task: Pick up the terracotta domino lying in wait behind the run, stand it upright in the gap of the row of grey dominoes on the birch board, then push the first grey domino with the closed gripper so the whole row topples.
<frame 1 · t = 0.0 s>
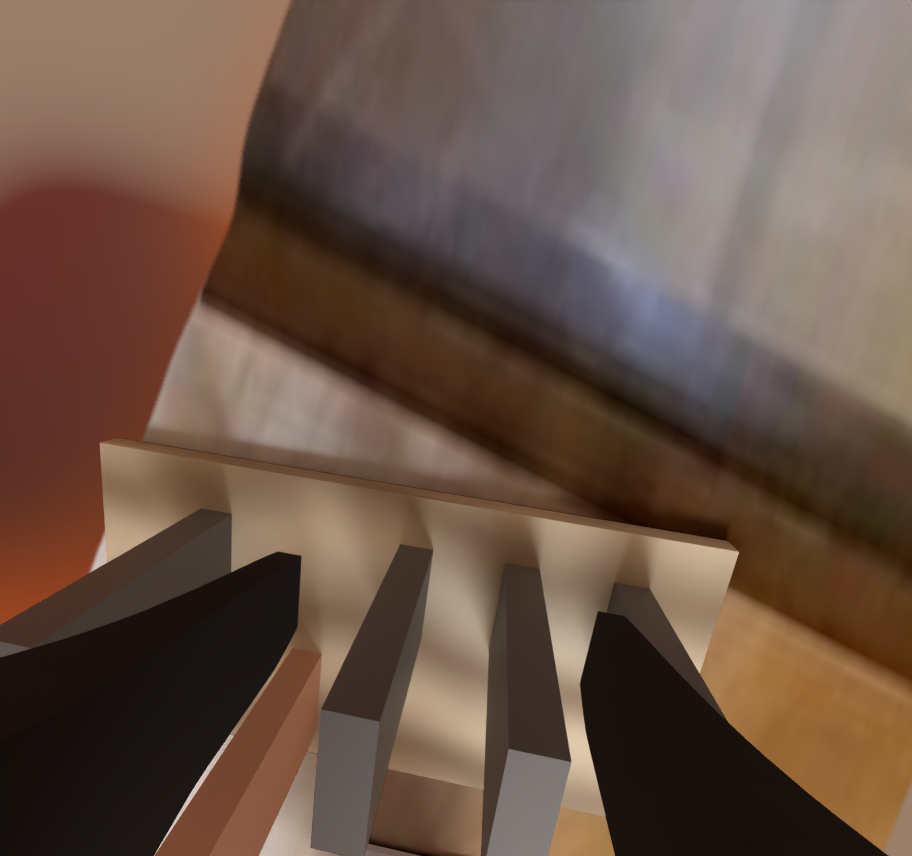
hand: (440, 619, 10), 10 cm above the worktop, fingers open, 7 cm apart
birch board: (390, 628, 22), on the worktop
domino 3: (410, 593, 20), point 1 cm above the worktop, touching birch board
domino 2: (513, 612, 20), point 1 cm above the worktop, touching birch board
domino 1: (619, 632, 20), point 1 cm above the worktop, touching birch board
end domino: (216, 556, 21), point 1 cm above the worktop, touching birch board
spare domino: (304, 690, 22), point 1 cm above the worktop, touching birch board
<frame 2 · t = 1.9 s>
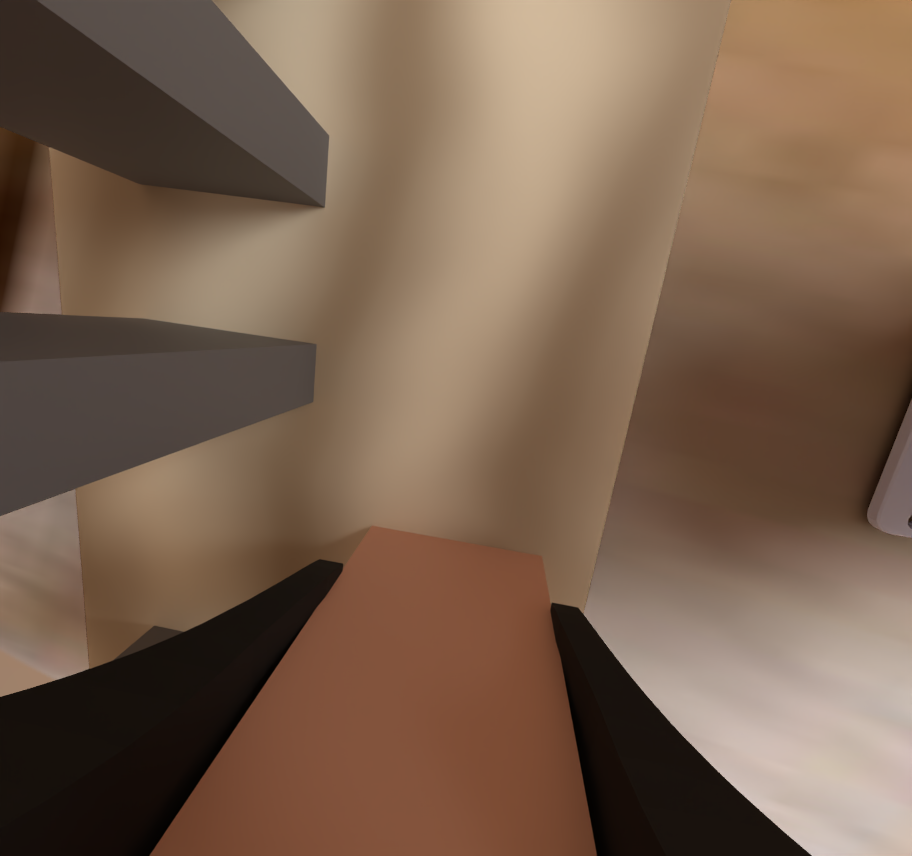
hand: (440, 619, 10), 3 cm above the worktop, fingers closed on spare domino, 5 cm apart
birch board: (343, 405, 13), on the worktop
domino 3: (228, 360, 12), point 1 cm above the worktop, touching birch board
domino 2: (231, 160, 11), point 1 cm above the worktop, touching birch board
end domino: (224, 660, 14), point 1 cm above the worktop, touching birch board
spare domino: (451, 565, 12), point 1 cm above the worktop, touching birch board, gripper
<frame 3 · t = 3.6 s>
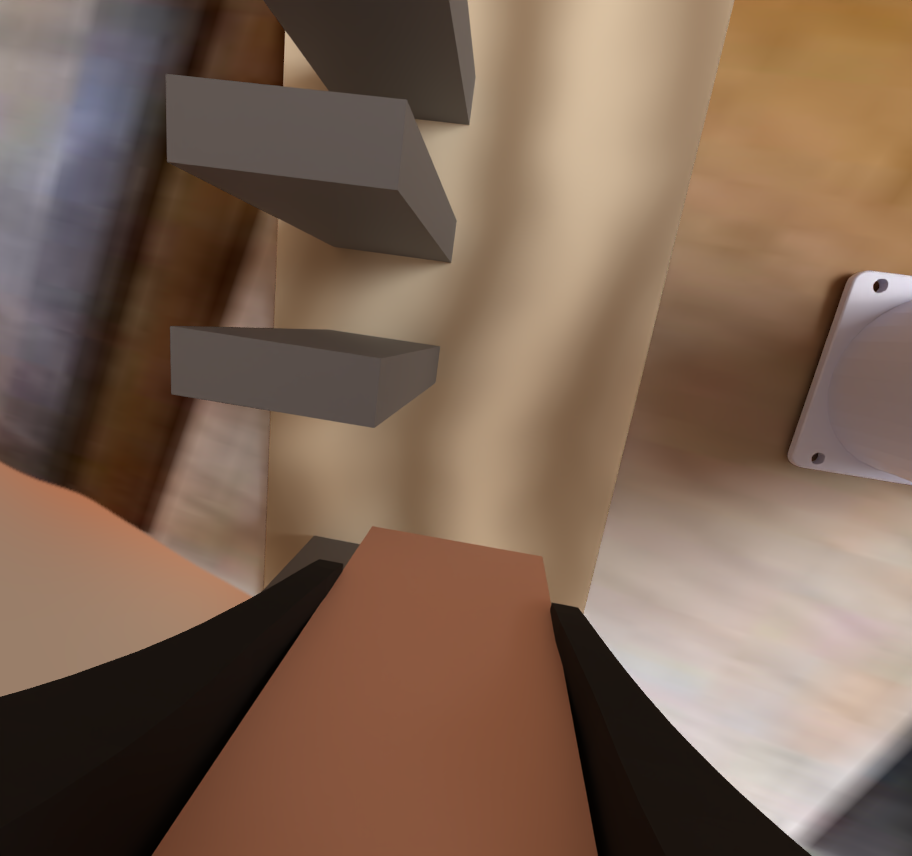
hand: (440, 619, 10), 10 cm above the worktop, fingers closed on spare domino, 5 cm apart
birch board: (448, 386, 19), on the worktop
domino 3: (381, 356, 18), point 1 cm above the worktop, touching birch board
domino 2: (394, 234, 17), point 1 cm above the worktop, touching birch board
domino 1: (407, 94, 16), point 1 cm above the worktop, touching birch board
end domino: (361, 559, 21), point 1 cm above the worktop, touching birch board
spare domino: (452, 565, 12), point 8 cm above the worktop, touching gripper
when the fingers open (5 cm above the worktop, at t = 5.6 s): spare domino drops 1 cm, resting on birch board.
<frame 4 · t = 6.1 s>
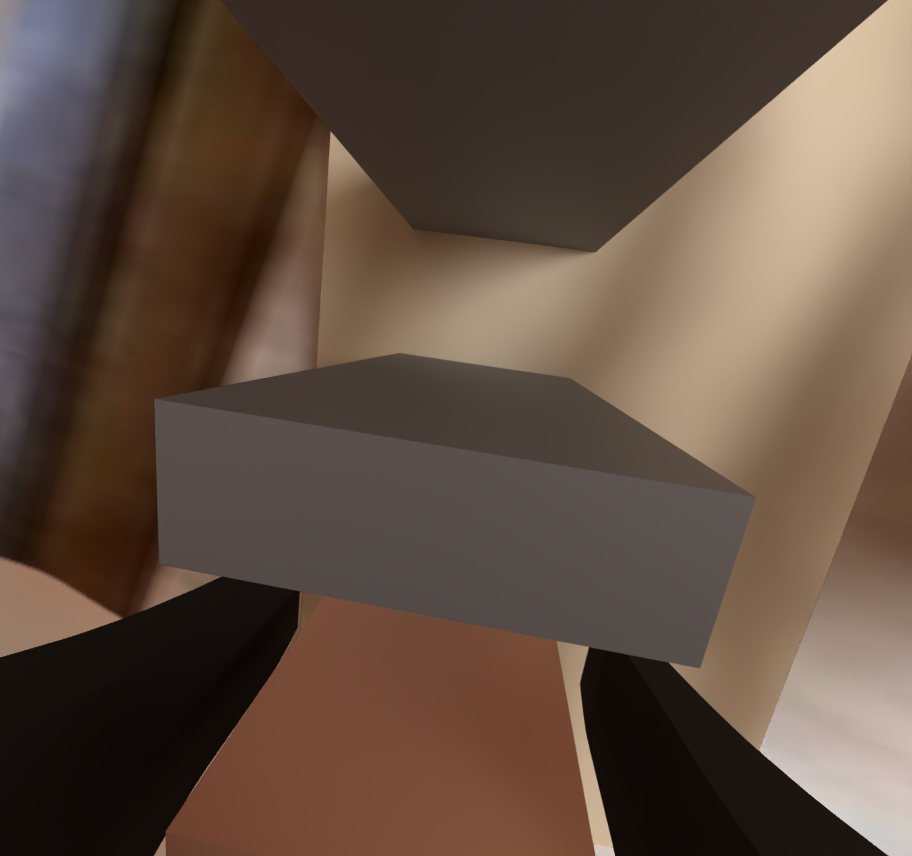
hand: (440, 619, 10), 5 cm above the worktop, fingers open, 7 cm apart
birch board: (569, 433, 13), on the worktop
domino 3: (479, 392, 12), point 1 cm above the worktop, touching birch board
domino 2: (507, 208, 11), point 1 cm above the worktop, touching birch board
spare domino: (455, 545, 14), point 1 cm above the worktop, touching birch board
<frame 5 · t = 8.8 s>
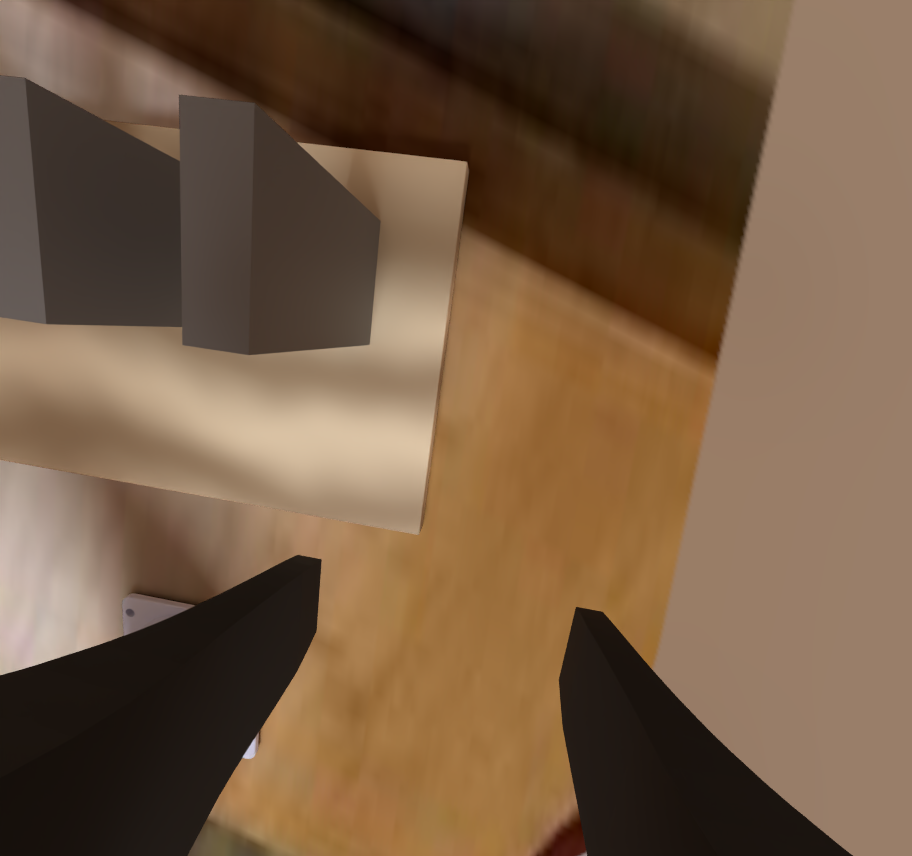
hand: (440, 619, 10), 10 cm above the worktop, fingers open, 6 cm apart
birch board: (136, 319, 20), on the worktop
domino 2: (244, 267, 18), point 1 cm above the worktop, touching birch board
domino 1: (356, 282, 18), point 1 cm above the worktop, touching birch board
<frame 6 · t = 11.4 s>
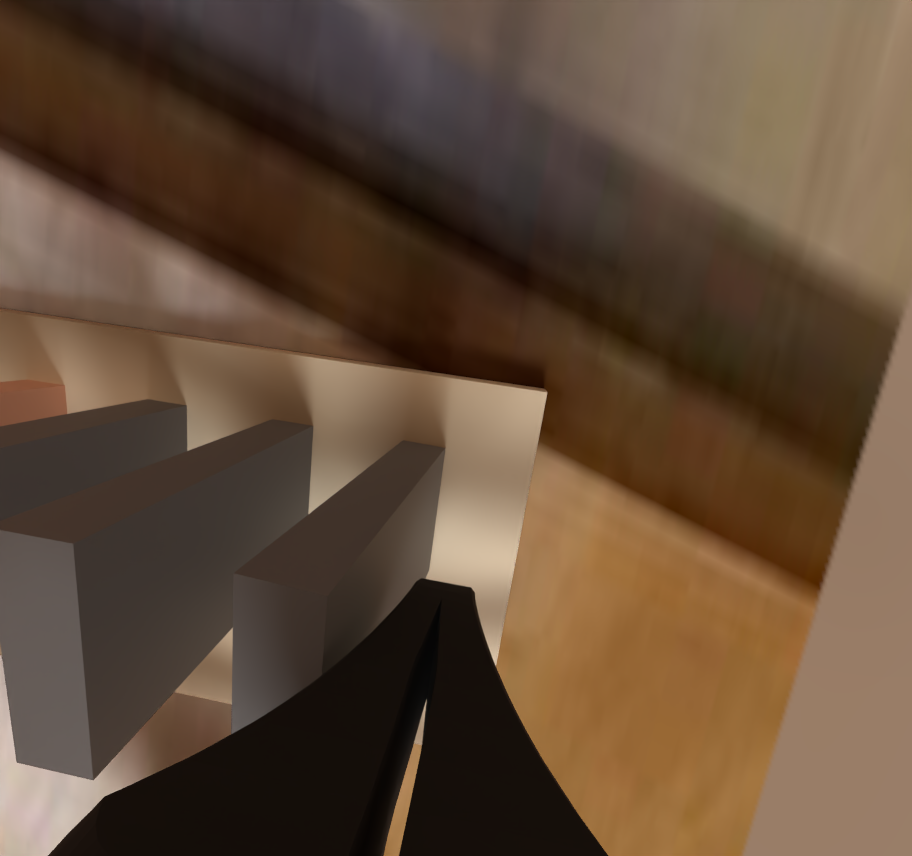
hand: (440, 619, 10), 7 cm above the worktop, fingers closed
birch board: (166, 518, 18), on the worktop
domino 3: (168, 464, 17), point 1 cm above the worktop, touching birch board
domino 2: (289, 485, 16), point 1 cm above the worktop, touching birch board
domino 1: (416, 507, 16), point 1 cm above the worktop, touching birch board
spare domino: (51, 443, 17), point 1 cm above the worktop, touching birch board
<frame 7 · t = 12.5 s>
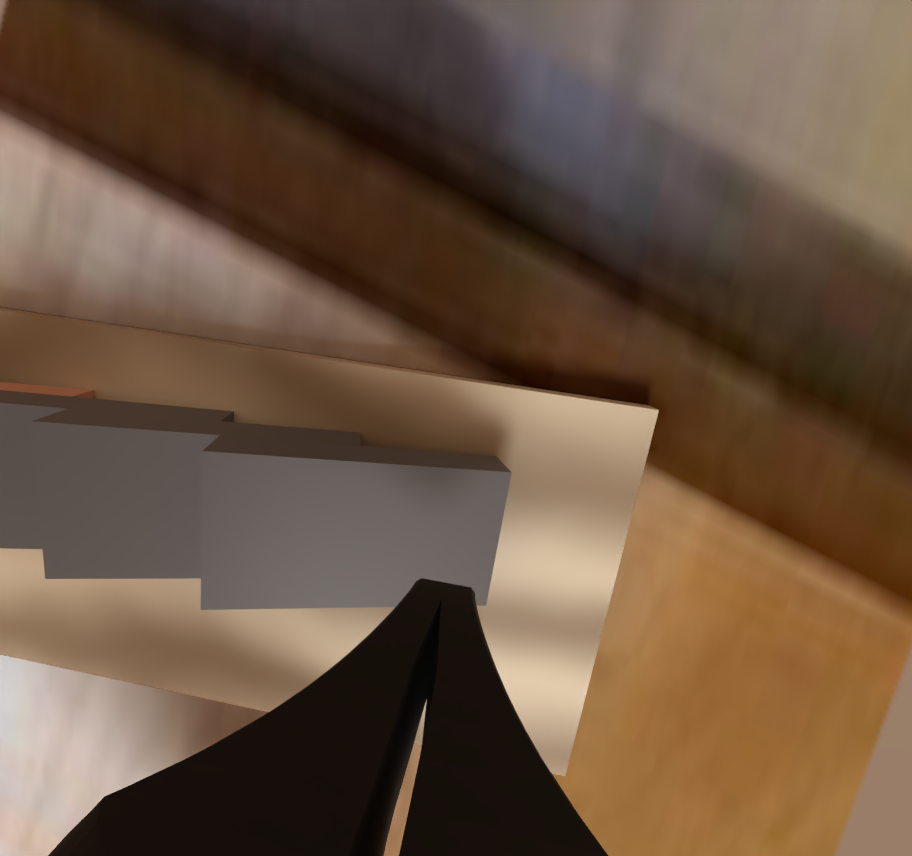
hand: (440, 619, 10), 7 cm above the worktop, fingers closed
birch board: (248, 533, 18), on the worktop
domino 3: (225, 481, 16), point 2 cm above the worktop, tilted 72°, touching birch board, domino 2, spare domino
domino 2: (354, 504, 15), point 2 cm above the worktop, tilted 71°, touching birch board, domino 1, domino 3
domino 1: (491, 530, 15), point 2 cm above the worktop, tilted 71°, touching birch board, domino 2
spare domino: (85, 457, 16), point 2 cm above the worktop, tilted 71°, touching birch board, domino 3, end domino
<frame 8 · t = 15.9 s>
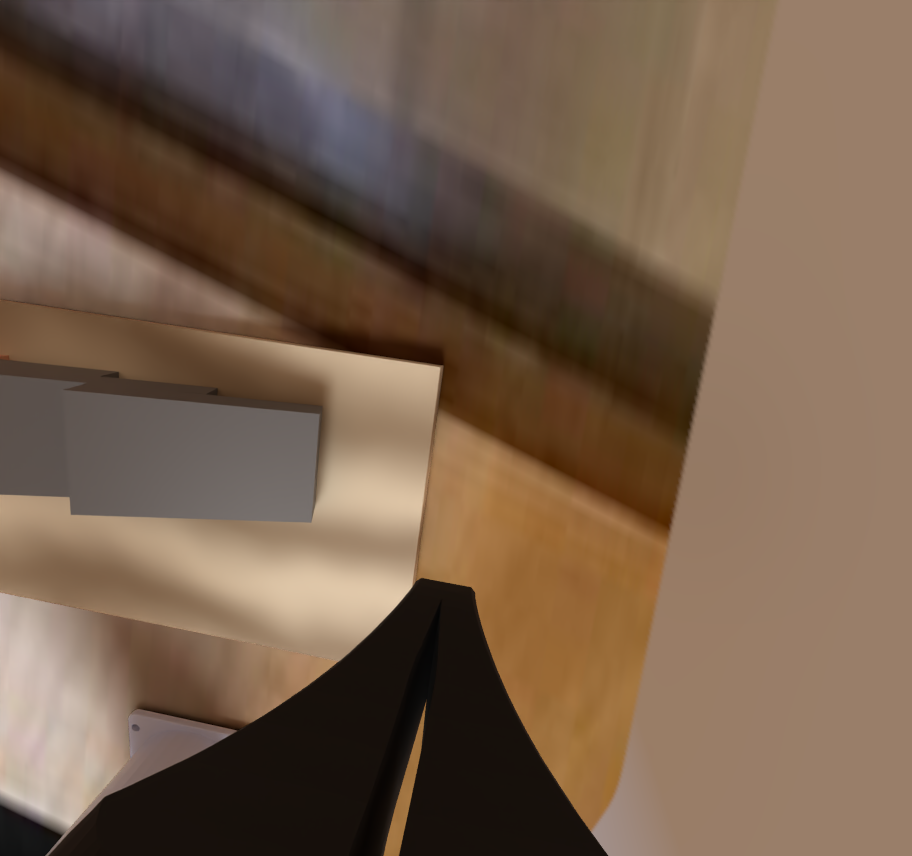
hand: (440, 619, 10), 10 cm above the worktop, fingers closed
birch board: (142, 475, 22), on the worktop
domino 3: (111, 427, 20), point 2 cm above the worktop, tilted 72°, touching birch board, domino 2, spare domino
domino 2: (211, 444, 19), point 2 cm above the worktop, tilted 71°, touching birch board, domino 1, domino 3
domino 1: (317, 463, 19), point 2 cm above the worktop, tilted 71°, touching birch board, domino 2
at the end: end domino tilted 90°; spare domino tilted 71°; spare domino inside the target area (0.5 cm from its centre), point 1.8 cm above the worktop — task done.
